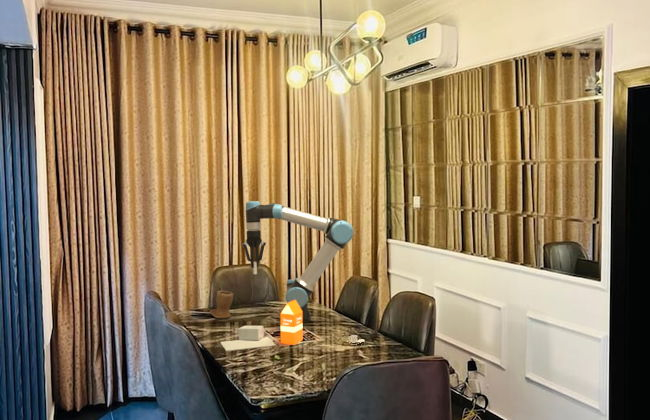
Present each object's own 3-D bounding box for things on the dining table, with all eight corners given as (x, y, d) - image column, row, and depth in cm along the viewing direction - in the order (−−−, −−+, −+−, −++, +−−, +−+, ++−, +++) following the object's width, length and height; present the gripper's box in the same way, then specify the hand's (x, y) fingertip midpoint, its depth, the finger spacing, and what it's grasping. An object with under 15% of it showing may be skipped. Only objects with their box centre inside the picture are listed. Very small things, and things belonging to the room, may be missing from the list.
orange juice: (302, 340, 283) (302, 300, 282) (294, 344, 275) (294, 303, 274) (288, 338, 287) (288, 298, 286) (280, 343, 279) (279, 302, 278)
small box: (238, 339, 283) (258, 340, 281) (238, 328, 283) (258, 328, 281) (244, 336, 291) (264, 336, 288) (244, 325, 291) (263, 325, 288)
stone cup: (235, 318, 328) (235, 292, 328) (215, 320, 324) (214, 294, 323) (229, 312, 342) (228, 287, 341) (209, 314, 337) (208, 289, 337)
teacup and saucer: (365, 342, 280) (365, 334, 280) (361, 347, 272) (361, 338, 272) (348, 341, 283) (348, 332, 282) (343, 345, 275) (343, 337, 275)
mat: (268, 337, 288) (268, 336, 288) (276, 345, 274) (276, 344, 274) (220, 342, 280) (220, 341, 280) (226, 351, 266) (226, 350, 266)
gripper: (263, 228, 313) (264, 271, 314) (239, 230, 308) (241, 273, 309) (267, 229, 306) (268, 273, 307) (243, 231, 301) (244, 275, 302)
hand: (255, 273), depth 308 cm, fingers closed
